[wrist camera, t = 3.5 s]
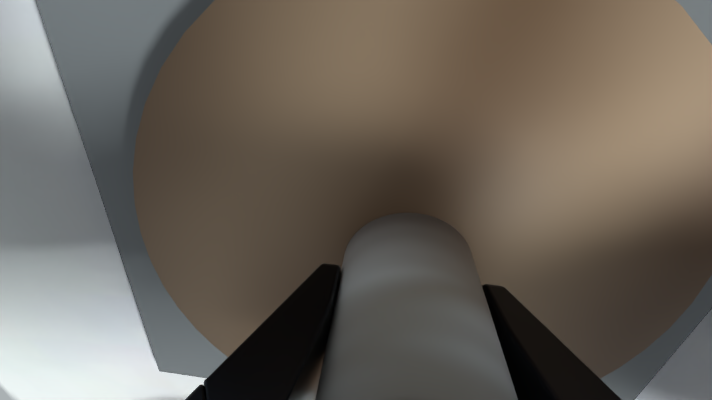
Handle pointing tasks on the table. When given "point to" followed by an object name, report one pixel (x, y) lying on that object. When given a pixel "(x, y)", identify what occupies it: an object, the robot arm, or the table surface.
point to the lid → (433, 179)
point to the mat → (117, 147)
